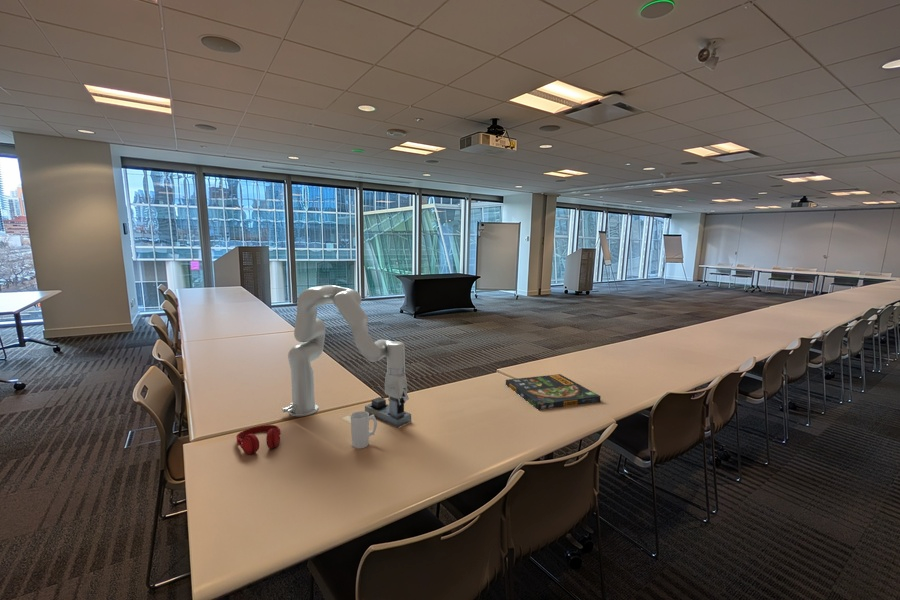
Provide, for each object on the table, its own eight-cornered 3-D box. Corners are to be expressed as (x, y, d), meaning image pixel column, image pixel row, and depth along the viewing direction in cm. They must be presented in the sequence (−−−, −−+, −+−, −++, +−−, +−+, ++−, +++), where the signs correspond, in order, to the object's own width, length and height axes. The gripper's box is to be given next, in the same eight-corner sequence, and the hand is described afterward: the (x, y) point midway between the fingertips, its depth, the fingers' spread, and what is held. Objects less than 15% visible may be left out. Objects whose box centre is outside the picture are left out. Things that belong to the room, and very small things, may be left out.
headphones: (285, 447, 142) (275, 433, 158) (284, 428, 142) (274, 416, 158) (240, 459, 133) (235, 443, 150) (239, 439, 133) (233, 426, 150)
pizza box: (505, 385, 211) (505, 379, 211) (559, 380, 222) (560, 374, 221) (538, 411, 178) (538, 404, 178) (600, 402, 189) (600, 396, 188)
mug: (353, 450, 140) (353, 420, 139) (349, 442, 146) (348, 413, 145) (379, 444, 145) (379, 414, 144) (374, 436, 151) (374, 408, 150)
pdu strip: (397, 428, 159) (397, 413, 158) (364, 413, 173) (364, 399, 172) (411, 421, 165) (411, 407, 164) (378, 407, 179) (378, 394, 178)
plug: (396, 418, 161) (396, 398, 160) (389, 415, 164) (389, 396, 163) (404, 415, 165) (403, 395, 164) (397, 412, 168) (396, 393, 167)
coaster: (354, 426, 160) (354, 425, 160) (340, 419, 166) (340, 418, 166) (372, 418, 167) (372, 417, 167) (359, 412, 174) (359, 411, 174)
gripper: (376, 368, 164) (377, 408, 167) (403, 376, 154) (403, 419, 156) (389, 364, 170) (390, 403, 173) (416, 372, 159) (416, 413, 162)
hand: (396, 410), depth 164 cm, fingers closed on plug, 4 cm apart
